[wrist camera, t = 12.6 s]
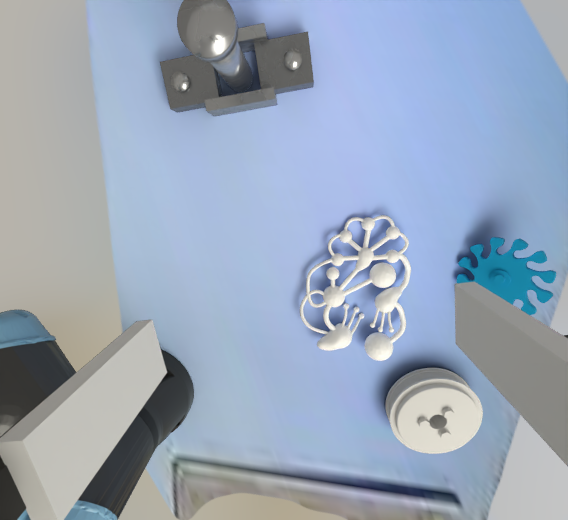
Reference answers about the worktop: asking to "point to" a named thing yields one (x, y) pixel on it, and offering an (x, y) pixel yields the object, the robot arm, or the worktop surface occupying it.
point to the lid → (433, 410)
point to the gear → (508, 273)
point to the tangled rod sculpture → (380, 276)
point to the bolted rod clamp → (271, 66)
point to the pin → (215, 39)
